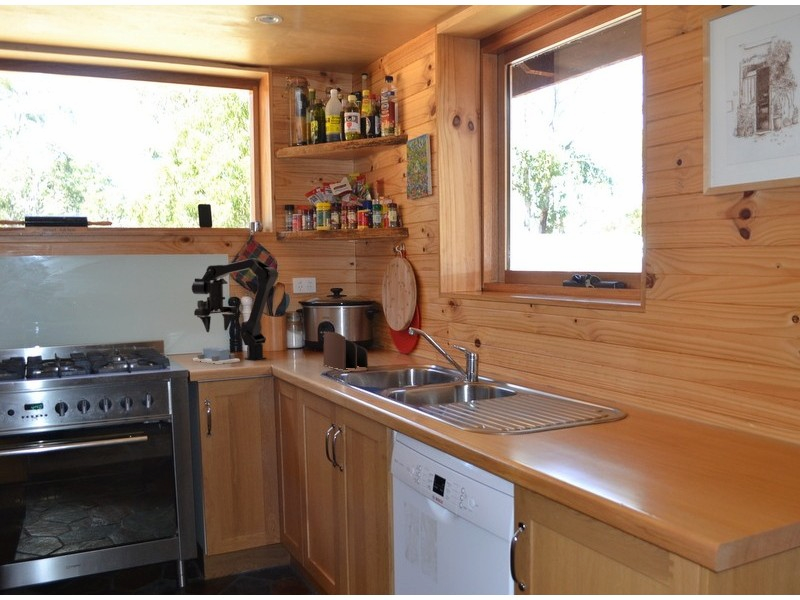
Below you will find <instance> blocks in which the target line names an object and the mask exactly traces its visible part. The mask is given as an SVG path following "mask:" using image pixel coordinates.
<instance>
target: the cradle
mask: <svg viewBox="0 0 800 600" xmlns="http://www.w3.org/2000/svg"><path fill="white" fill-rule="evenodd" d="M196 355H197V356H196V357H193V358H192V360H193V361H194V362H200V361H201V362H202V363H206V362H207V364H213V363H215V364H214V365H224V364H223V363H225V364H230V363H232V364H233V363H238V362H241V361H240V358H236V356H235V355H236V354H235V353H229V359H227V360H219V356H212V359H207V358H204V354H203V353H198V354H196Z"/></svg>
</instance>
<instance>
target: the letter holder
mask: <svg viewBox="0 0 800 600" xmlns="http://www.w3.org/2000/svg"><path fill="white" fill-rule="evenodd" d="M368 361H369V359H368V350H367V349H366V348H365V347H362V346H360V345H358V344H356V343H354V342H353V341H352V340H349V339H346V337H345V336H344V335H343V334H341V333H337V332H335V331H327V332H326V331H325V332H324V333H323V364H322V365H323V366H324V365H327V366H330V367H333V368H338V369H343V370H348V369H346V368H355V369H356V368H357V366H359V367H366V368H368V369H369V362H368Z"/></svg>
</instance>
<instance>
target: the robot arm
mask: <svg viewBox="0 0 800 600" xmlns="http://www.w3.org/2000/svg"><path fill="white" fill-rule="evenodd" d="M249 269H250V270H251V271H252V272H253V274H255V275H256V276H257V277H256V278H257V280H256V282H257V291H256V294H255V297H254V301H253V304H252V307H251V310H250V314H249V317H248V319H247V320H246V321H242V323H241V327H240V330H239V332H240V334H239V335H240V337H241V339H242V340H243V344H244V346H246V350H247V351H246V353H247V354H246V357H244V360H250V361H256V360H264V359H267V357H266V356H264V353H263V351H264V350H263V349H264V348H263V347H264V345H263V344H265V343H266V337H265V335H263V334H262V333H261V331H262V325H261V319H262V317H263V313H264V310H265V305H266V303H267V300H268V296H269V293H270V290H271V289H272V288H273V286H274V285H275V283H276V281H277V279H278V277H279V272H278V270H277V269H276V268H275V267H271V266H269V264H267V263H264V262H262V261H260V260H259V259H258V258H255V257H254V258H252V257H251V258H248V259H244V260H240V261H236V262H231V263H228V264H212V265H208V266H207V268H206V271H205V273H204V275H203V276H202V278H200V277H199V278H196V277H195V278H194V281H193V282H192V285H191V290H192V291H191V292H192V293H193V294H194V295H208V297H206V301H204V300H198V301H197V303H196V304H197V308H195V309H194V311H193V313H194V316H196V317H197V318H199V319H200V320H201V322H202V324H203V326H204V329H205V331H206V333H209V332H210V329H211V318H212V317H211V314H221V315H222V317H223V329H224V331H228V328H229V326H230V324H231V322H232V320H233V318H234V316H236V314H238V313H239V309H238V308H237V307H238V306H235V305H232V306H230V305H228V306H227V305H226V306H224V300H226V297H225V296H224V285H228V281H227V280H226V279H225V278H224V277H227V276H229V275H230V274H231V273H237V272H242V271H246V270H249Z"/></svg>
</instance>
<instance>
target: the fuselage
mask: <svg viewBox="0 0 800 600" xmlns="http://www.w3.org/2000/svg"><path fill="white" fill-rule="evenodd" d="M202 354H204V358H207V359H212V356H219V360H227V359H229V354H230V349H228V348H221V347H220V348H219V347H215V346H214V347H212V346H211V347H204V348H202Z"/></svg>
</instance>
